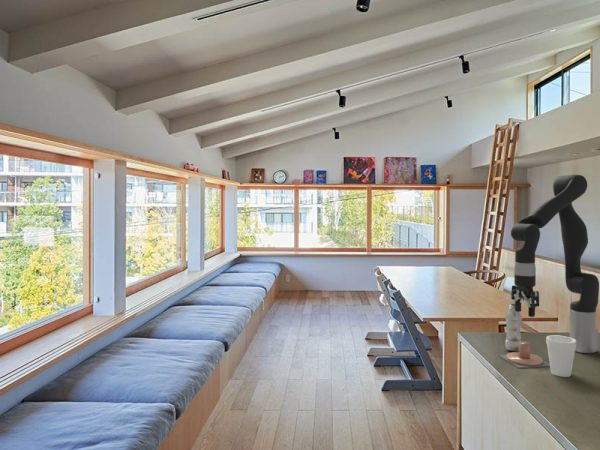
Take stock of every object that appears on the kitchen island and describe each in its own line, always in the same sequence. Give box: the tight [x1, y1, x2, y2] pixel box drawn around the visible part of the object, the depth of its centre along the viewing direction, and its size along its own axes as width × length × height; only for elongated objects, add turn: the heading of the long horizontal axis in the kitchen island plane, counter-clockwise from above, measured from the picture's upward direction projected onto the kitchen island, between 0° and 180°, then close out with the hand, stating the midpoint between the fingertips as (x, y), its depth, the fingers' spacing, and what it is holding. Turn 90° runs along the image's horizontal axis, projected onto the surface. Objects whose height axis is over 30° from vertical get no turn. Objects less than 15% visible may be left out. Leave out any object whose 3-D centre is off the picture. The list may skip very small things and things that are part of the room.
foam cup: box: [545, 334, 576, 378], centre depth 160 cm, size 10×9×13 cm
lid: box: [506, 340, 543, 366], centre depth 173 cm, size 13×13×7 cm
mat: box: [497, 354, 550, 369], centre depth 174 cm, size 14×14×1 cm
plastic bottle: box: [504, 303, 523, 352], centre depth 185 cm, size 6×7×20 cm
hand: (524, 314), depth 173 cm, fingers open, 8 cm apart
